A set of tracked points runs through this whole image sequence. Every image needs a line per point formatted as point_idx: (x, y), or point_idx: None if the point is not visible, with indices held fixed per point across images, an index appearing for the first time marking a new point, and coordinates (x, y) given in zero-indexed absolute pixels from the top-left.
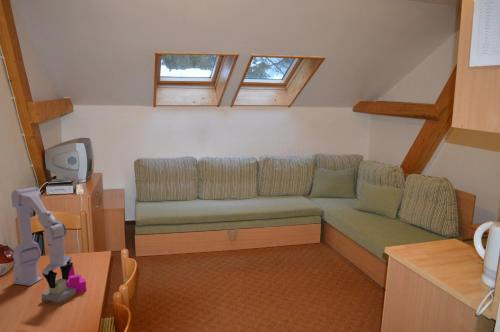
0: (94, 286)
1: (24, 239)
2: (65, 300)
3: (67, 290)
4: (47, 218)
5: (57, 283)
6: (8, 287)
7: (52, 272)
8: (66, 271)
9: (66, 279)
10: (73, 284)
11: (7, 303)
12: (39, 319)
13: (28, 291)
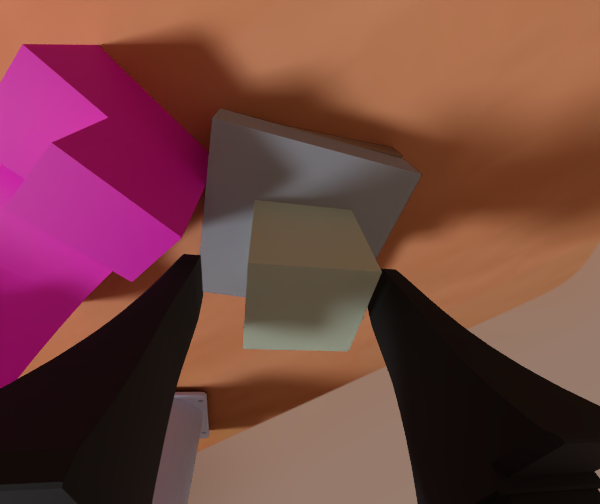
0: None
1: None
2: (336, 137)
3: (274, 175)
4: None
5: (370, 281)
6: (238, 425)
7: (528, 480)
8: (162, 349)
9: (199, 264)
10: (173, 172)
11: (359, 371)
12: (563, 170)
13: (249, 370)
